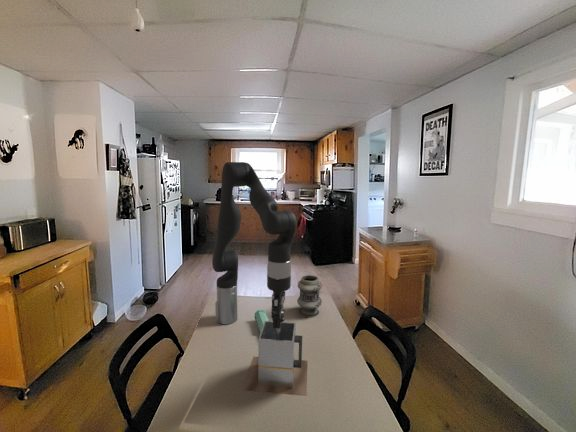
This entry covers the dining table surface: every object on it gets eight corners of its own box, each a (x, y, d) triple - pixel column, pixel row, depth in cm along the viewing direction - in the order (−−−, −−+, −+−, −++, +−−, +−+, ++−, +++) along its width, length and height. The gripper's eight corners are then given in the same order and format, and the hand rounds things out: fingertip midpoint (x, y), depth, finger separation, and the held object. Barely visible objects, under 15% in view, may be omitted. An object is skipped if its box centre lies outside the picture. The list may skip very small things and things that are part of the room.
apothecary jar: (298, 305, 145) (299, 272, 142) (321, 307, 143) (322, 274, 140) (295, 317, 133) (296, 281, 130) (320, 319, 131) (322, 283, 128)
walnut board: (242, 393, 87) (242, 390, 86) (253, 359, 102) (253, 356, 102) (306, 399, 85) (306, 395, 85) (307, 363, 101) (307, 360, 100)
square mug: (258, 385, 88) (258, 340, 86) (264, 361, 99) (264, 320, 97) (300, 389, 87) (301, 343, 84) (301, 364, 98) (303, 323, 96)
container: (276, 338, 105) (263, 307, 129) (262, 346, 104) (252, 313, 128) (282, 350, 107) (268, 317, 131) (268, 358, 106) (256, 323, 129)
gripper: (270, 265, 95) (270, 309, 98) (263, 281, 81) (263, 332, 84) (292, 266, 94) (291, 310, 97) (288, 282, 80) (287, 333, 83)
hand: (278, 320), depth 90 cm, fingers open, 8 cm apart
